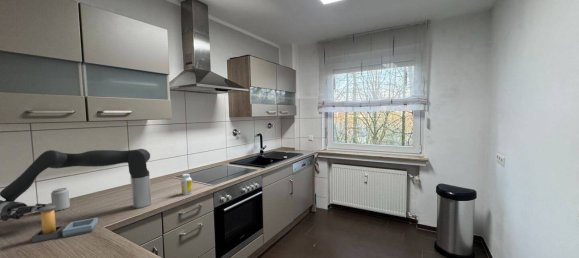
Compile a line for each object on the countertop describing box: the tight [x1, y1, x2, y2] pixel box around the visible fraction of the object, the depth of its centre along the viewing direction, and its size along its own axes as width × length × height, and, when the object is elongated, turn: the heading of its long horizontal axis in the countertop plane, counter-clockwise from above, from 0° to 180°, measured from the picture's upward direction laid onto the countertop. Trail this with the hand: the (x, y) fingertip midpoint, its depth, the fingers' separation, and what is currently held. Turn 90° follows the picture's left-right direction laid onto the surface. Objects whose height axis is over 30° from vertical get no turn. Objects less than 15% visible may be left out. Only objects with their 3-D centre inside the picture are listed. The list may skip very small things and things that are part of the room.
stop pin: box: [38, 204, 57, 234], centre depth 105 cm, size 5×5×13 cm
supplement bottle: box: [180, 173, 193, 196], centre depth 160 cm, size 7×7×13 cm
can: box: [50, 187, 71, 212], centre depth 140 cm, size 8×8×12 cm
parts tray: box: [62, 217, 99, 238], centre depth 110 cm, size 10×10×3 cm
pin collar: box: [31, 224, 66, 243], centre depth 105 cm, size 8×8×2 cm
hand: (32, 213), depth 108 cm, fingers open, 8 cm apart
